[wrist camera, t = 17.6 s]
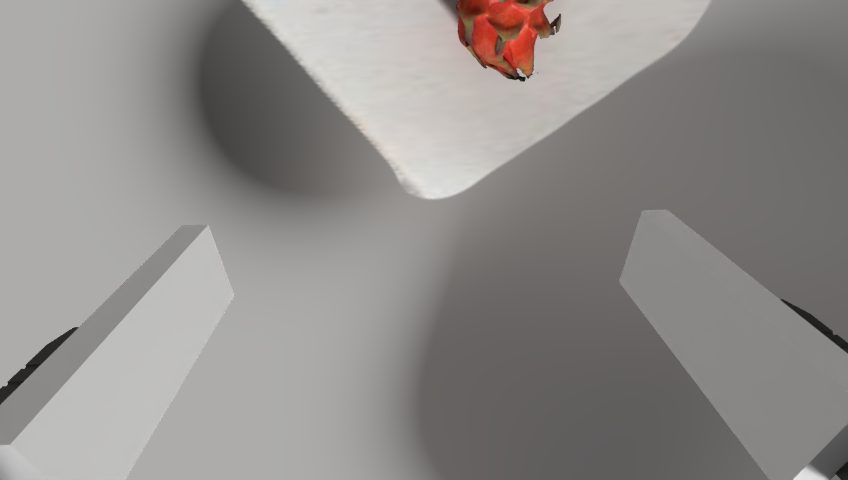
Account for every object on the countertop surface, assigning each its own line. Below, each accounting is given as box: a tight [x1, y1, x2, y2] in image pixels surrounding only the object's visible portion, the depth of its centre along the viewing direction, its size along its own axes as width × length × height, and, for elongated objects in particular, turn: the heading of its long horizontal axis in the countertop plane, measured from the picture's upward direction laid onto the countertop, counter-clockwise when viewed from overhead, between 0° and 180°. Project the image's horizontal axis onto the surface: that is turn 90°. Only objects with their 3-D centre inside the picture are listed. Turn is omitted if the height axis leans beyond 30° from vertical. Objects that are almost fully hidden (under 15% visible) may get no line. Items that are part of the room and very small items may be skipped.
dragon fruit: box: [456, 0, 561, 82], centre depth 32 cm, size 8×8×12 cm
